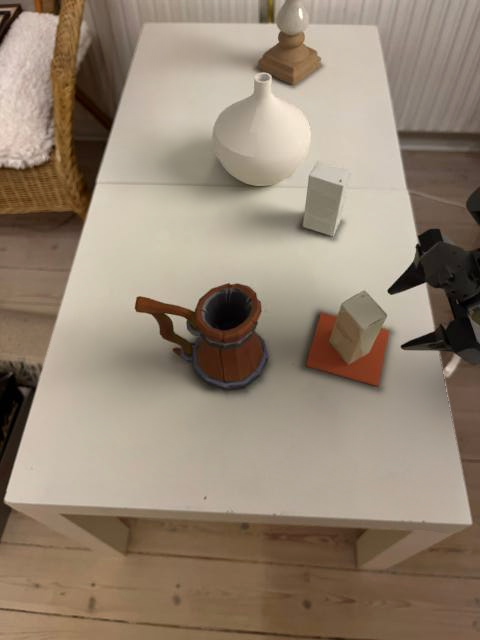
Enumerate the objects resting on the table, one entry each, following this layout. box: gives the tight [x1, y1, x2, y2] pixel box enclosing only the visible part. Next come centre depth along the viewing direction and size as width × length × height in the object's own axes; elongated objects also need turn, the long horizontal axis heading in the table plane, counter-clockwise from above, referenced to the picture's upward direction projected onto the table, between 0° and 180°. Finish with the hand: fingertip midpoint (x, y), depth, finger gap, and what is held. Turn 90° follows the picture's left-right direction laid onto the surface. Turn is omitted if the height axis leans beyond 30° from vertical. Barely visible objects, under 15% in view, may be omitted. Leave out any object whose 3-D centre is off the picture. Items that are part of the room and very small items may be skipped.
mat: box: [305, 311, 390, 387], centre depth 75 cm, size 11×10×1 cm
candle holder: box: [257, 0, 322, 86], centre depth 106 cm, size 11×11×24 cm
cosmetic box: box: [302, 160, 352, 237], centre depth 84 cm, size 6×4×12 cm
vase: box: [211, 71, 312, 187], centre depth 89 cm, size 18×18×19 cm
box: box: [329, 290, 388, 365], centre depth 71 cm, size 5×4×11 cm
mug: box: [134, 282, 268, 391], centre depth 69 cm, size 18×12×15 cm, turn 83°
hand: (395, 319), depth 68 cm, fingers open, 9 cm apart
